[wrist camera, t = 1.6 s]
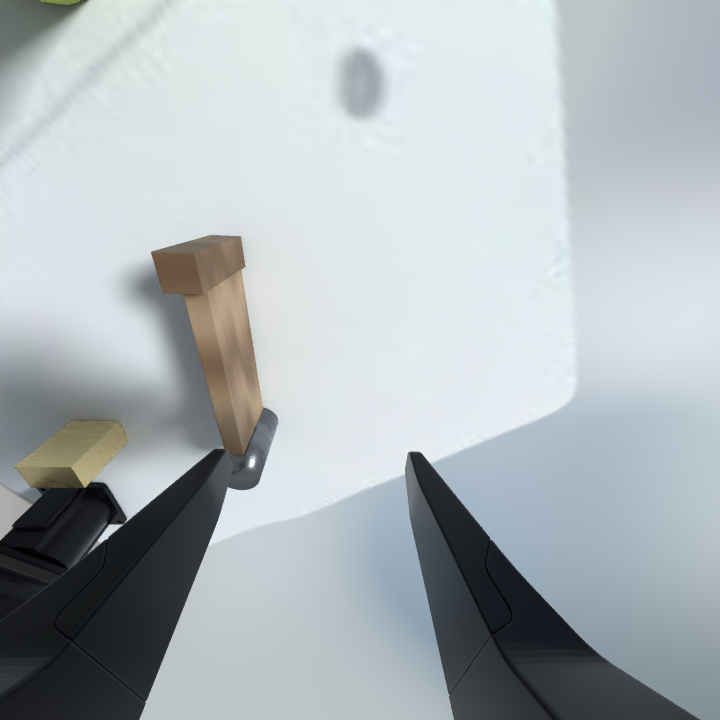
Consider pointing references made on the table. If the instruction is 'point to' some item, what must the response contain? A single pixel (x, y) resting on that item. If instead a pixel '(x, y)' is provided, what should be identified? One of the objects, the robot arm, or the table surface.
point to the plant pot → (61, 1)
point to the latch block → (73, 455)
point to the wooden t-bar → (218, 328)
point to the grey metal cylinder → (254, 453)
